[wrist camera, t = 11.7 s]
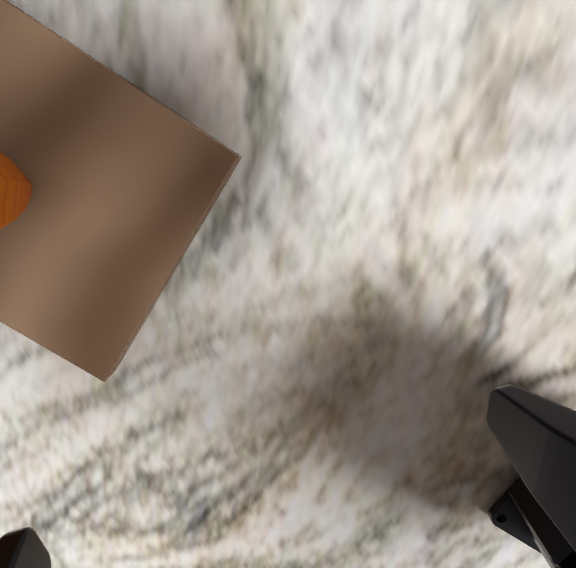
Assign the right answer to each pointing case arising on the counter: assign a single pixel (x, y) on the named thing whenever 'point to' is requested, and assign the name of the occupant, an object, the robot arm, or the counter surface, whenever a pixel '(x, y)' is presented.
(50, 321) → the walnut board
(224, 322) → the counter surface
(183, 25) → the counter surface
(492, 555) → the counter surface
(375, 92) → the counter surface
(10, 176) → the carrot
